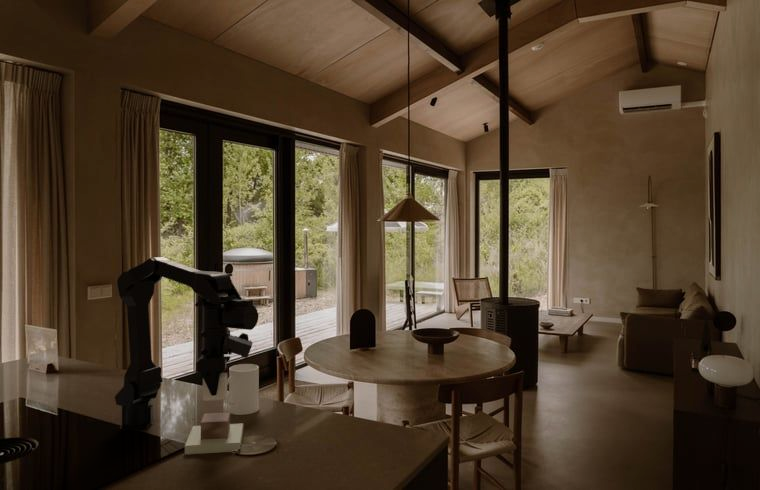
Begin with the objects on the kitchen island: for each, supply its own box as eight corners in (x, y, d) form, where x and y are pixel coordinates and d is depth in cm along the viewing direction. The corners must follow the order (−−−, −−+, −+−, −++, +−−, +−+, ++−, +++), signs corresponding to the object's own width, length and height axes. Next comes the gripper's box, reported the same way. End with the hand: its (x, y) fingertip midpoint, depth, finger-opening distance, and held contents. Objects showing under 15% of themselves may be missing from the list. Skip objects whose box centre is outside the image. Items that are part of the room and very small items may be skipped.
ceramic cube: (202, 400, 122) (202, 379, 122) (205, 394, 127) (205, 373, 127) (225, 399, 123) (225, 378, 123) (227, 393, 128) (227, 372, 128)
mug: (232, 420, 140) (232, 375, 139) (211, 413, 144) (212, 370, 144) (265, 409, 149) (266, 366, 149) (245, 402, 154) (245, 362, 154)
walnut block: (200, 439, 122) (200, 422, 122) (204, 429, 128) (204, 413, 128) (227, 438, 123) (227, 421, 123) (229, 428, 129) (229, 412, 129)
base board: (184, 454, 118) (184, 445, 118) (193, 434, 130) (193, 426, 130) (239, 451, 121) (239, 442, 121) (243, 431, 132) (243, 423, 132)
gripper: (248, 333, 117) (247, 402, 117) (252, 319, 135) (252, 379, 136) (195, 334, 115) (195, 405, 115) (207, 320, 133) (206, 381, 134)
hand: (215, 391), depth 125 cm, fingers closed on ceramic cube, 5 cm apart
